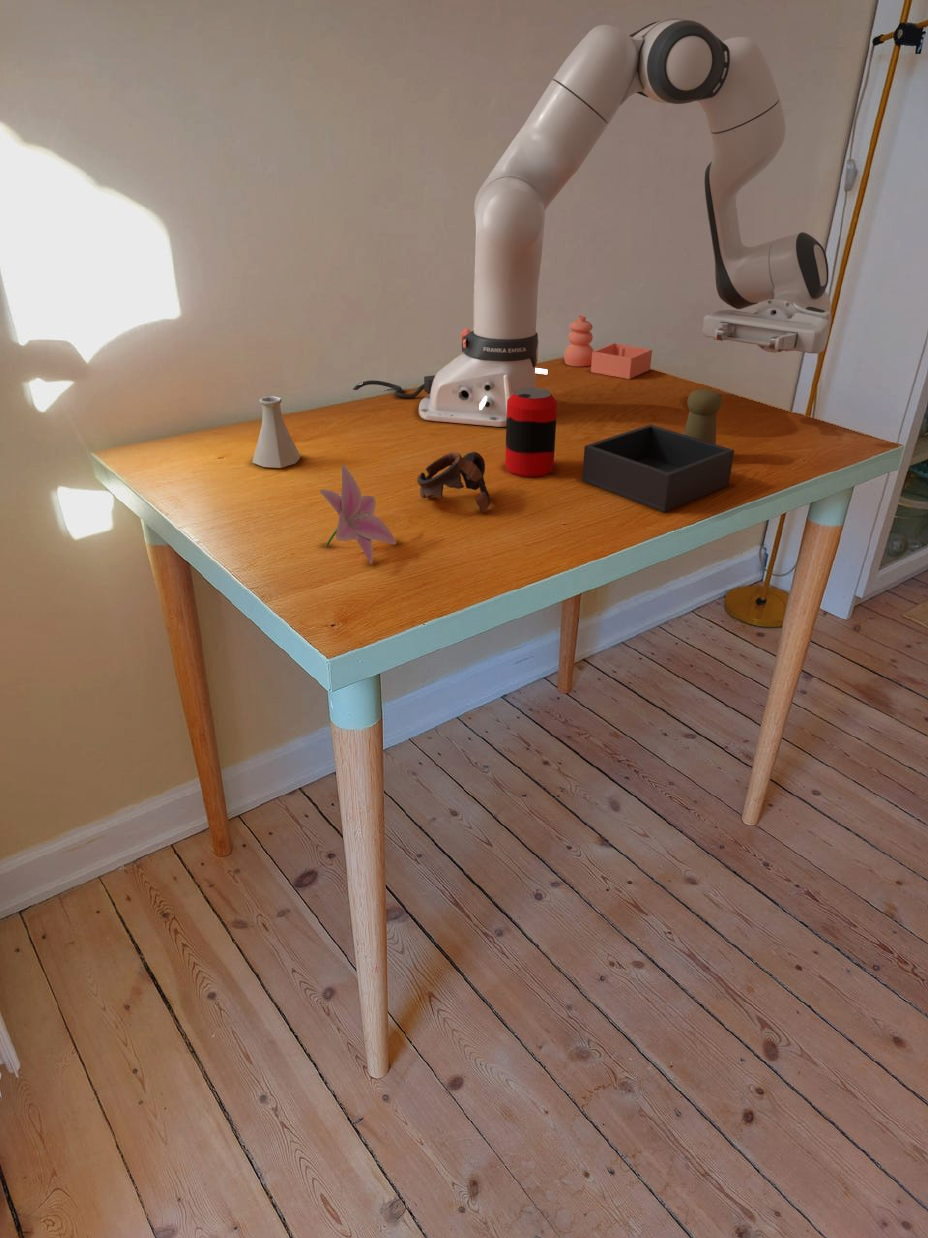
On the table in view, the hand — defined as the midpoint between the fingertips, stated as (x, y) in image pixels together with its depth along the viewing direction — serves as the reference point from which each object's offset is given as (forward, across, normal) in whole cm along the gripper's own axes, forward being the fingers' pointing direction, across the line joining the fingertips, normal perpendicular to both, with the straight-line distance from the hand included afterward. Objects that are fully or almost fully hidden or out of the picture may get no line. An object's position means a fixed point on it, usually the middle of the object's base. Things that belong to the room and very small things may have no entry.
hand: (745, 339), depth 145 cm
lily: (+71, -19, +17) cm, 76 cm away
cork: (+12, 0, +17) cm, 21 cm away
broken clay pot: (+51, -19, +17) cm, 56 cm away
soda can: (+33, -18, +17) cm, 42 cm away
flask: (+56, -51, +16) cm, 78 cm away
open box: (+26, 0, +17) cm, 31 cm away
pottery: (-26, -41, +17) cm, 52 cm away
